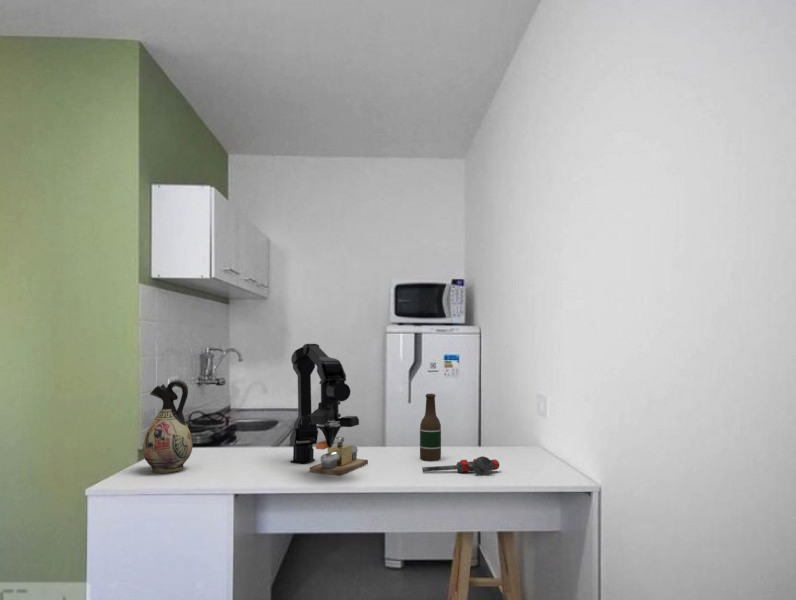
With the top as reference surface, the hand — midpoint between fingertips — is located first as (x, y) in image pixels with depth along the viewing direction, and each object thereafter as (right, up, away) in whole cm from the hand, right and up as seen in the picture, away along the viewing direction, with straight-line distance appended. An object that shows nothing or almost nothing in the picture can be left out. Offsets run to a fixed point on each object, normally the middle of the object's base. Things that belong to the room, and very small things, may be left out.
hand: (330, 447), depth 180 cm
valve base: (+2, -10, +11) cm, 15 cm away
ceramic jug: (-54, -9, +5) cm, 55 cm away
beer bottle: (+34, -11, +26) cm, 44 cm away
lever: (0, -1, +5) cm, 6 cm away
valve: (+43, -11, +8) cm, 45 cm away
